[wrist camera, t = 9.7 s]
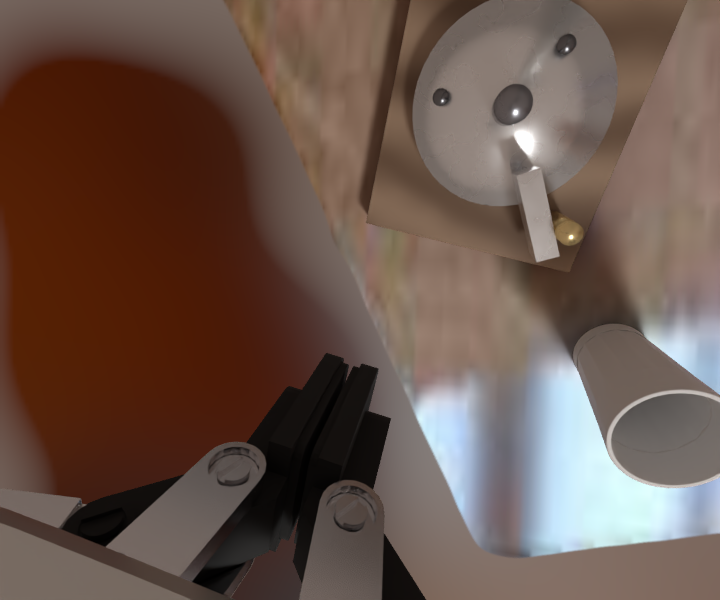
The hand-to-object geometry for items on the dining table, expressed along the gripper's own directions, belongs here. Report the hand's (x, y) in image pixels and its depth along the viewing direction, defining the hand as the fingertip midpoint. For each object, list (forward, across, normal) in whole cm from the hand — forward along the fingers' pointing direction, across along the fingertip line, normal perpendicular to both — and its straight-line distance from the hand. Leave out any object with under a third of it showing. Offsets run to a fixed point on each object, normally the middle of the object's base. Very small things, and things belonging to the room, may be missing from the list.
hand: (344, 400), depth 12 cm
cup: (+27, -20, +7) cm, 35 cm away
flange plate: (+25, -5, -9) cm, 27 cm away
